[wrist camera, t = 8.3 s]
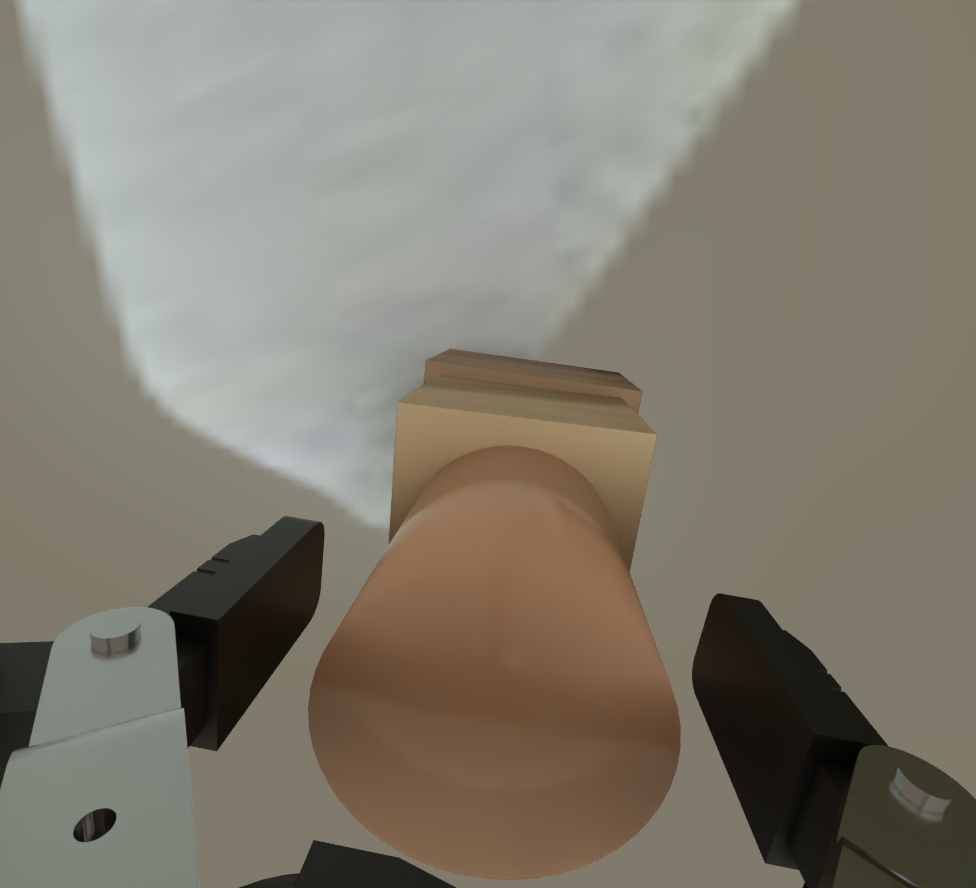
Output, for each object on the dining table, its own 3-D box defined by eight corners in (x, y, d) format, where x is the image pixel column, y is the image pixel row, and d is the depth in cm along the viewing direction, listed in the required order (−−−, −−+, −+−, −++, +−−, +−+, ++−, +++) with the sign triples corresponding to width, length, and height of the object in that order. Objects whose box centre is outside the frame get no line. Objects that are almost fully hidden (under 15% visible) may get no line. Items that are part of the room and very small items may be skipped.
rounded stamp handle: (417, 432, 12) (313, 541, 6) (630, 460, 12) (720, 602, 6) (402, 617, 14) (303, 846, 8) (593, 646, 13) (640, 906, 7)
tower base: (450, 348, 22) (426, 360, 17) (618, 372, 21) (642, 391, 16) (433, 504, 24) (407, 554, 19) (587, 528, 23) (601, 586, 18)
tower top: (436, 375, 17) (397, 402, 12) (621, 398, 17) (657, 434, 12) (422, 542, 18) (383, 625, 14) (591, 566, 18) (612, 659, 13)
